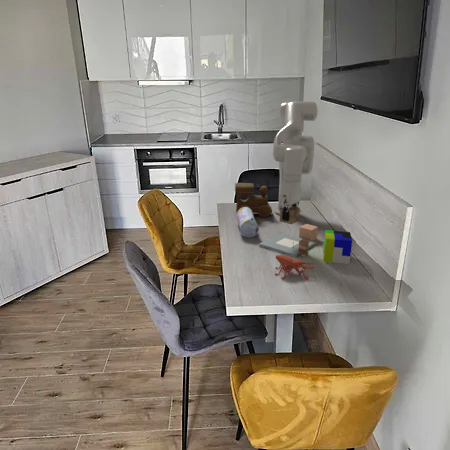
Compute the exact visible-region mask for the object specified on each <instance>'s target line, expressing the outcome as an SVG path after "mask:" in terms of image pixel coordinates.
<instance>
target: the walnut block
mask: <svg viewBox="0 0 450 450" xmlns="http://www.w3.org/2000/svg"><path fill="white" fill-rule="evenodd" d="M285 207H286V208H287V206H285ZM300 209H301V208H300V207H299V206H298V207H294V206H290V208H289V211H288V212H289V221H285V220H282V209H281V208H280V215H279V222H280V223H284V224H289V225H294V224H295V223H297V222H299V221H300Z"/></svg>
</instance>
